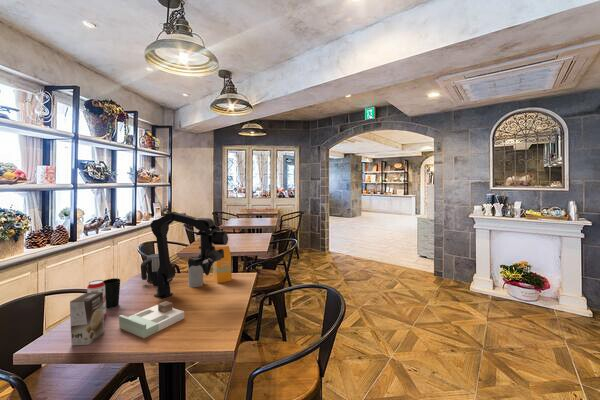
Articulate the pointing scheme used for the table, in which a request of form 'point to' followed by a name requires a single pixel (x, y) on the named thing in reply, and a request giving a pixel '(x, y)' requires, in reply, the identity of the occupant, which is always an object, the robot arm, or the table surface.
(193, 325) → the table surface
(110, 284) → the cup
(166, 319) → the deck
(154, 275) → the milk frother
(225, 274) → the orange juice
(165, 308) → the block
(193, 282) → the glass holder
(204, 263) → the robot arm
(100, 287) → the beer can
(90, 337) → the coffee box
